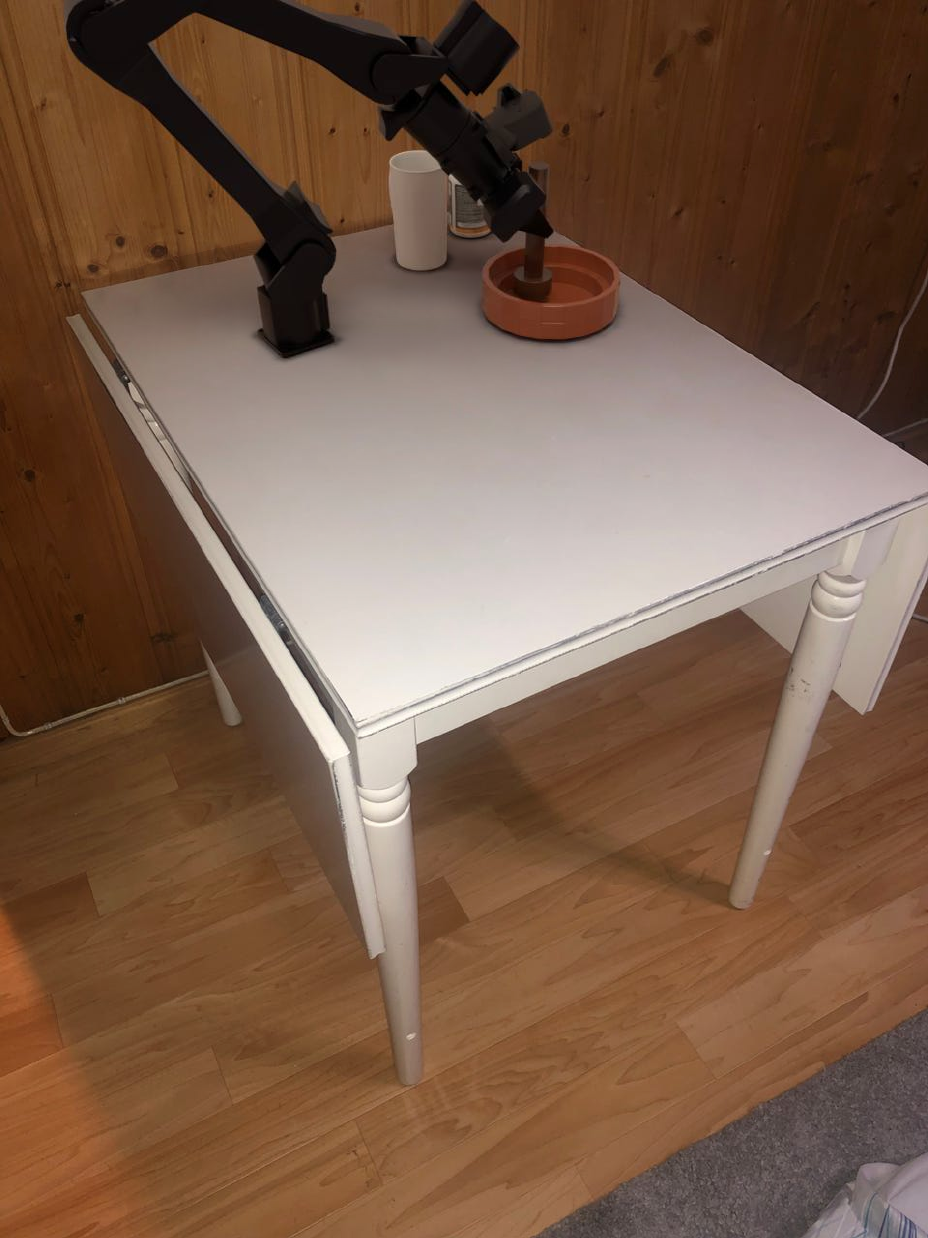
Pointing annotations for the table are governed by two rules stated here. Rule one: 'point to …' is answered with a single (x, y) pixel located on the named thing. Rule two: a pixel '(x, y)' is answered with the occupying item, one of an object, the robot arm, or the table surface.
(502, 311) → the bowl
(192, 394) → the table surface
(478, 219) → the pill bottle
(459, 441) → the table surface
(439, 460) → the table surface
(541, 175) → the stick
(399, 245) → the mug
